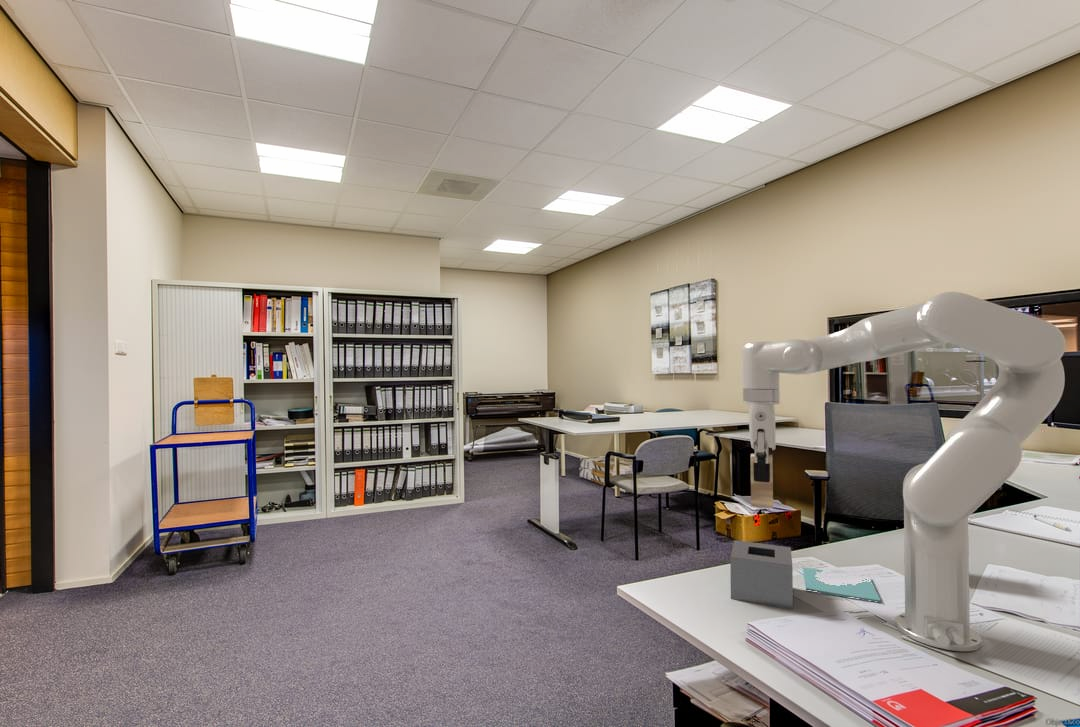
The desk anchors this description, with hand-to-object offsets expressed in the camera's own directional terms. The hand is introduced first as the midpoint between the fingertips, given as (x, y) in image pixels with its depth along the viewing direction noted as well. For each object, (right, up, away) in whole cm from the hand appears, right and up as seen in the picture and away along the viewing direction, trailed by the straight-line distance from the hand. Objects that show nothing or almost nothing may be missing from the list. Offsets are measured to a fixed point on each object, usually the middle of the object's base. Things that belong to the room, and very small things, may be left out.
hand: (761, 478), depth 113 cm
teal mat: (+19, -25, +4) cm, 32 cm away
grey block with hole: (0, -25, -1) cm, 25 cm away
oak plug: (0, -6, 0) cm, 6 cm away
